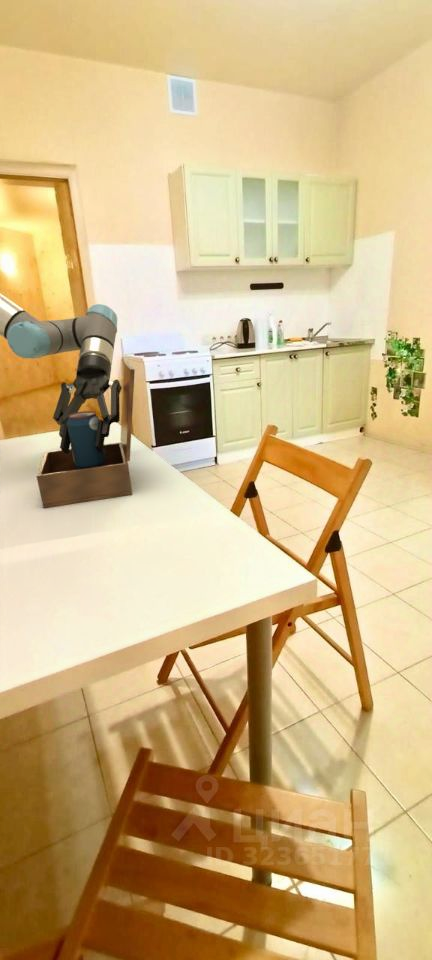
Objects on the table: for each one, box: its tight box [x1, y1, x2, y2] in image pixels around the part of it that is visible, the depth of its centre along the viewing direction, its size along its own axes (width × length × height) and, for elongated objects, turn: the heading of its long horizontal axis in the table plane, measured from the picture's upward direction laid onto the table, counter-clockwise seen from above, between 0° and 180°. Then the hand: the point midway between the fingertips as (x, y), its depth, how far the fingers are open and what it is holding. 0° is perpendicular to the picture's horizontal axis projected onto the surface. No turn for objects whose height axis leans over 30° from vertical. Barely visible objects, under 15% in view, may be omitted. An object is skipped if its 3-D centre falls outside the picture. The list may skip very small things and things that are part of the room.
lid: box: [120, 361, 136, 462], centre depth 95 cm, size 18×18×1 cm
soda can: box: [67, 410, 106, 469], centre depth 98 cm, size 7×7×12 cm
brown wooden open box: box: [36, 441, 133, 509], centre depth 98 cm, size 18×18×7 cm
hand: (81, 449), depth 95 cm, fingers closed on soda can, 7 cm apart
